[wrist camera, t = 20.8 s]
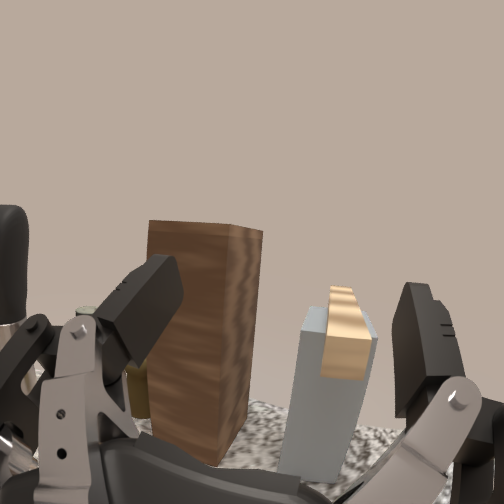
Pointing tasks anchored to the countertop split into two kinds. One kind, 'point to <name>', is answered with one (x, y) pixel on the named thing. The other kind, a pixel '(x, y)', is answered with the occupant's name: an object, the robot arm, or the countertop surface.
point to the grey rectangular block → (320, 408)
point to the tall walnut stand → (205, 336)
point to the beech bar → (345, 337)
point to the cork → (138, 391)
